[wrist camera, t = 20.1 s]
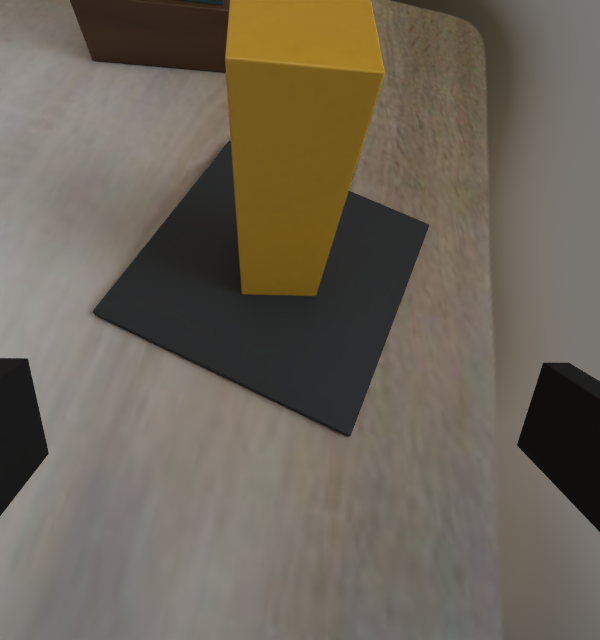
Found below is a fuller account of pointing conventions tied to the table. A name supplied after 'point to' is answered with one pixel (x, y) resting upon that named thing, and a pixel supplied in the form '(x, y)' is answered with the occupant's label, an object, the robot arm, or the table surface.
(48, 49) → the table surface
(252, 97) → the bar
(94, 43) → the teal cube on base
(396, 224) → the mat
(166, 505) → the table surface
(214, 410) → the table surface
